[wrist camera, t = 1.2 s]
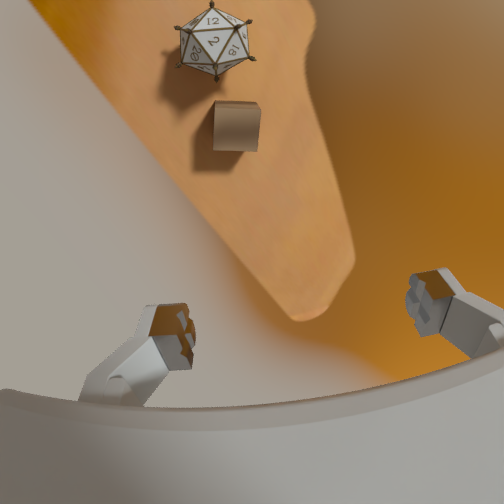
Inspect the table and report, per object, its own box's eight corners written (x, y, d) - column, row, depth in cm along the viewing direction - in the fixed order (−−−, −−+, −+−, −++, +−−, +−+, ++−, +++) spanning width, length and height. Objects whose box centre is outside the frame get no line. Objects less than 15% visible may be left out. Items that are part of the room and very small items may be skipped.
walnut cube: (215, 100, 35) (214, 107, 31) (255, 102, 35) (261, 109, 31) (213, 137, 38) (213, 150, 34) (252, 139, 38) (257, 151, 34)
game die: (221, 55, 34) (226, 109, 32) (162, 33, 29) (154, 86, 26) (266, 10, 27) (280, 59, 25) (202, -22, 22) (201, 21, 20)
